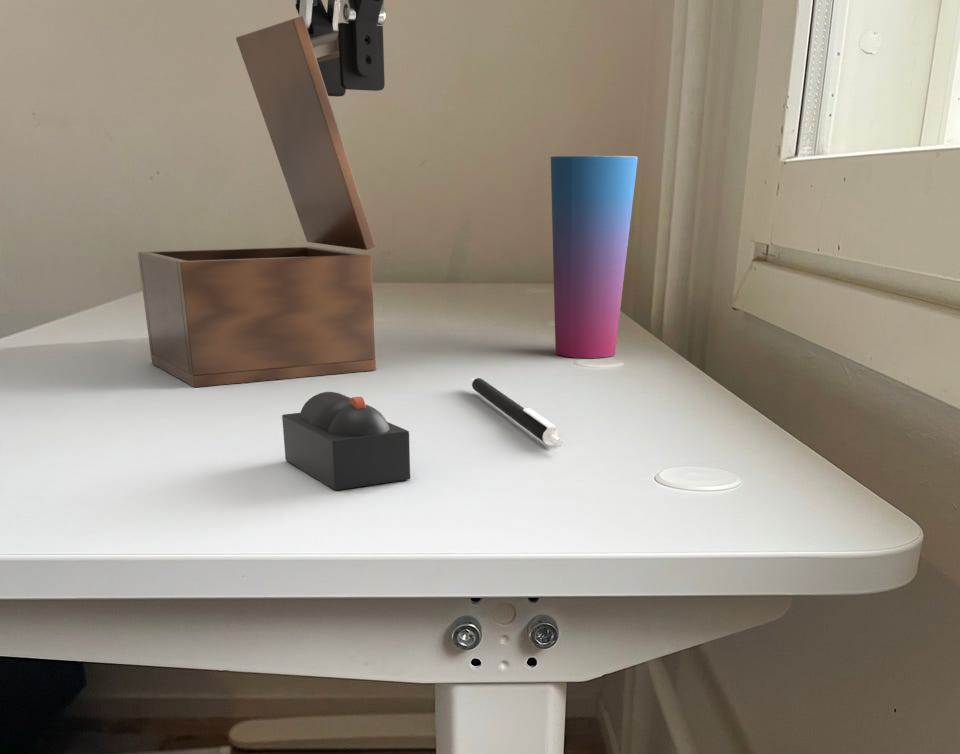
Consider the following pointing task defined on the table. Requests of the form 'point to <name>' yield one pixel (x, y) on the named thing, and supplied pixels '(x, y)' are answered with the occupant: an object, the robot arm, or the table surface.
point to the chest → (258, 313)
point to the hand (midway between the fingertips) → (343, 90)
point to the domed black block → (345, 443)
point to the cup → (590, 250)
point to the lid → (306, 130)
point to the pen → (519, 413)
